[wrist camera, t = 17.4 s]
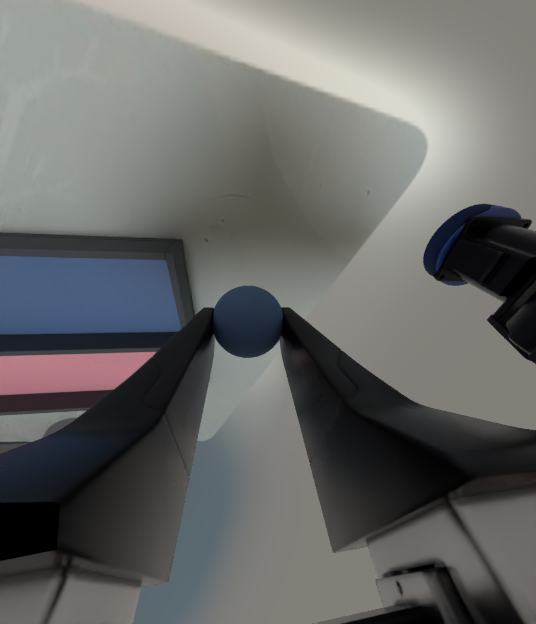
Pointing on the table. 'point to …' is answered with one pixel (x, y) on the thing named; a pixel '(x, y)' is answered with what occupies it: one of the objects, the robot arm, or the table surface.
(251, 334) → the slate ball
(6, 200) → the table surface
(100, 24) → the table surface
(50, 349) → the tray
